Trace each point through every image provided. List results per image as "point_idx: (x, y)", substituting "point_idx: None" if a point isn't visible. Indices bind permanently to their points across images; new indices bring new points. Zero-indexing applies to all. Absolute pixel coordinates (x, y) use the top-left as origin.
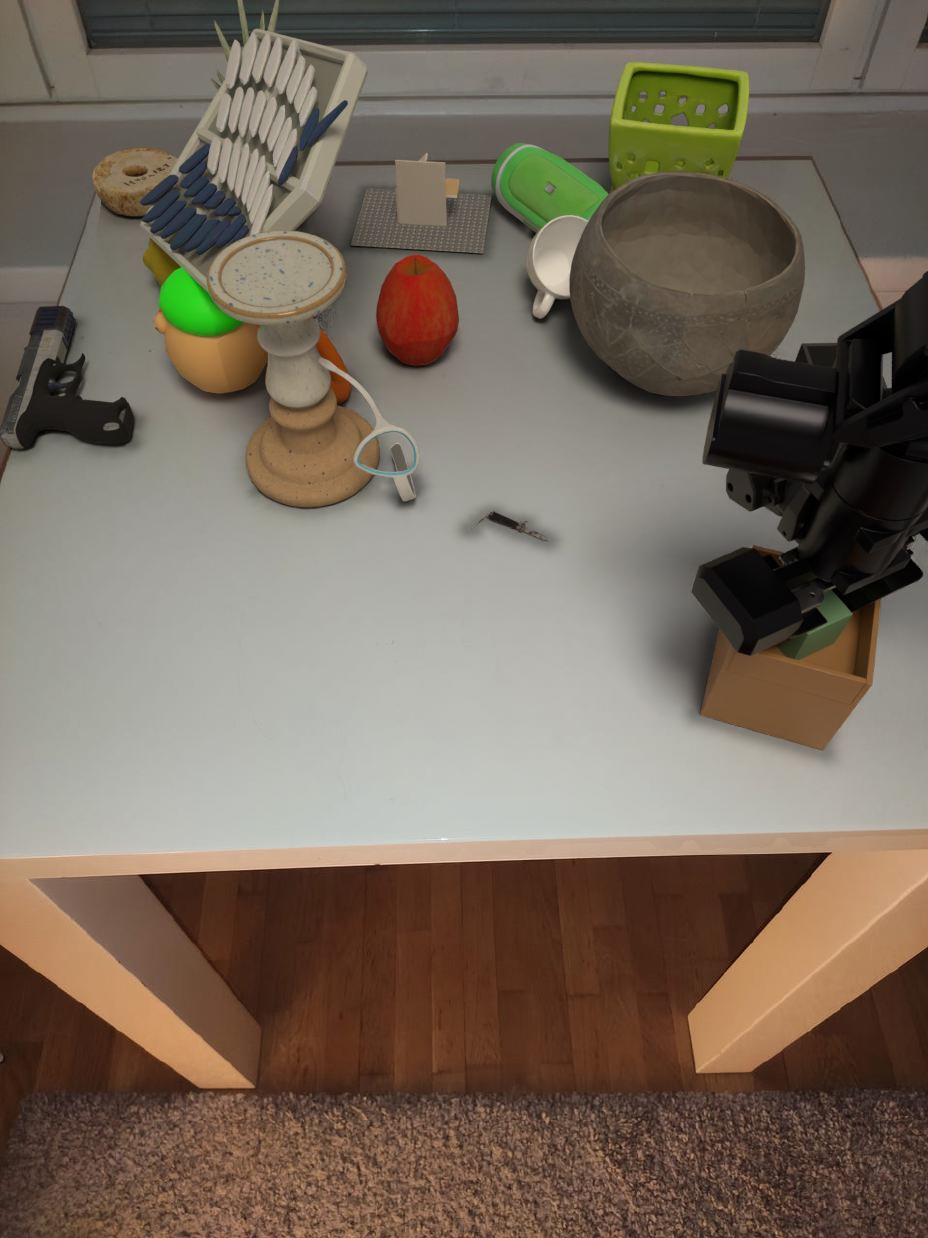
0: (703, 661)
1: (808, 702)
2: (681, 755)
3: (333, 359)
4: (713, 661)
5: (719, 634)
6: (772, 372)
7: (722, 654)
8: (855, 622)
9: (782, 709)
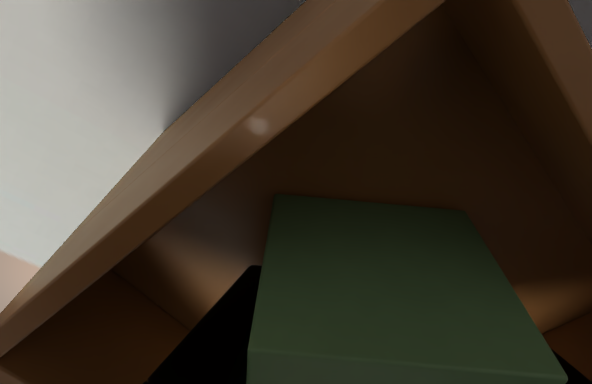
0: (245, 28)
1: None
2: (87, 177)
3: None
4: (241, 62)
5: (305, 3)
6: None
7: (131, 177)
8: (537, 325)
9: None
